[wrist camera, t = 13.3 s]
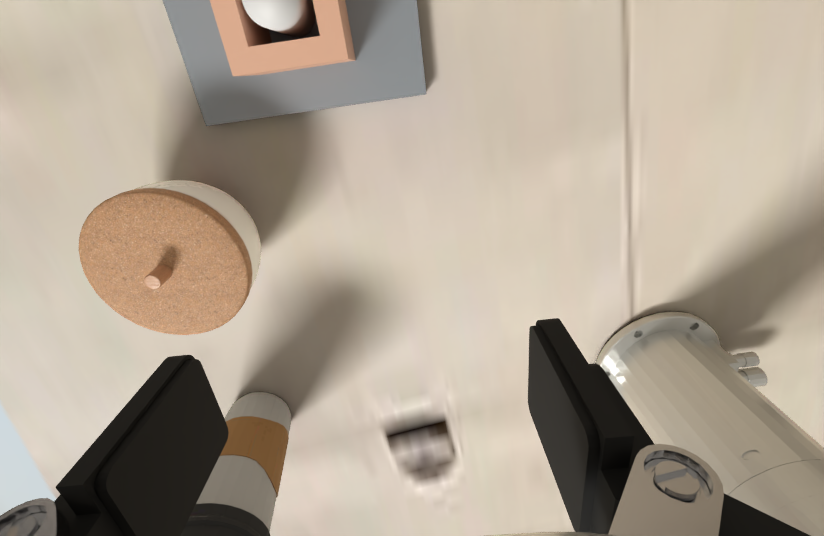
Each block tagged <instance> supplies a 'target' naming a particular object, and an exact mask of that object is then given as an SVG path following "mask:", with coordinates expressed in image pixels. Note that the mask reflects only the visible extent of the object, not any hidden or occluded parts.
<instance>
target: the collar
mask: <svg viewBox="0 0 824 536" xmlns="http://www.w3.org/2000/svg"><path fill="white" fill-rule="evenodd" d="M210 3H211V6H212V10H213V13H214V16H215V20H216V23H217V26H218V29H219V33H220V36H221V39H222V42H223V46H224V49H225V52H226V55H227V59H228V62H229V65H230V69H231V72H232V75H233V76H249V75H263V74H270V73H277V72H283V71H290V70H296V69H303V68H310V67H316V66H323V65H329V64H336V63H342V62H349V61H356V59H355V53H354V47H353V42H352V36H351V30H350V25H349V19H348V13H347V8H346V2H345V0H313V5H314V9H315V14H316V19H317V24H318V29H319V33H320V36H316V37H309V38H303V39H296V40H290V41H283V42H277V43H272V40H271V36H270V32H269V29H267V28H264V27H262V26H260V25H258V24H257V23H256V22H254V21H253V20H252V19H251V18H250V16H249V15H248V14H247V12H246V10H245V8H244V6H243V3H242V0H210Z"/></svg>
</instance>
